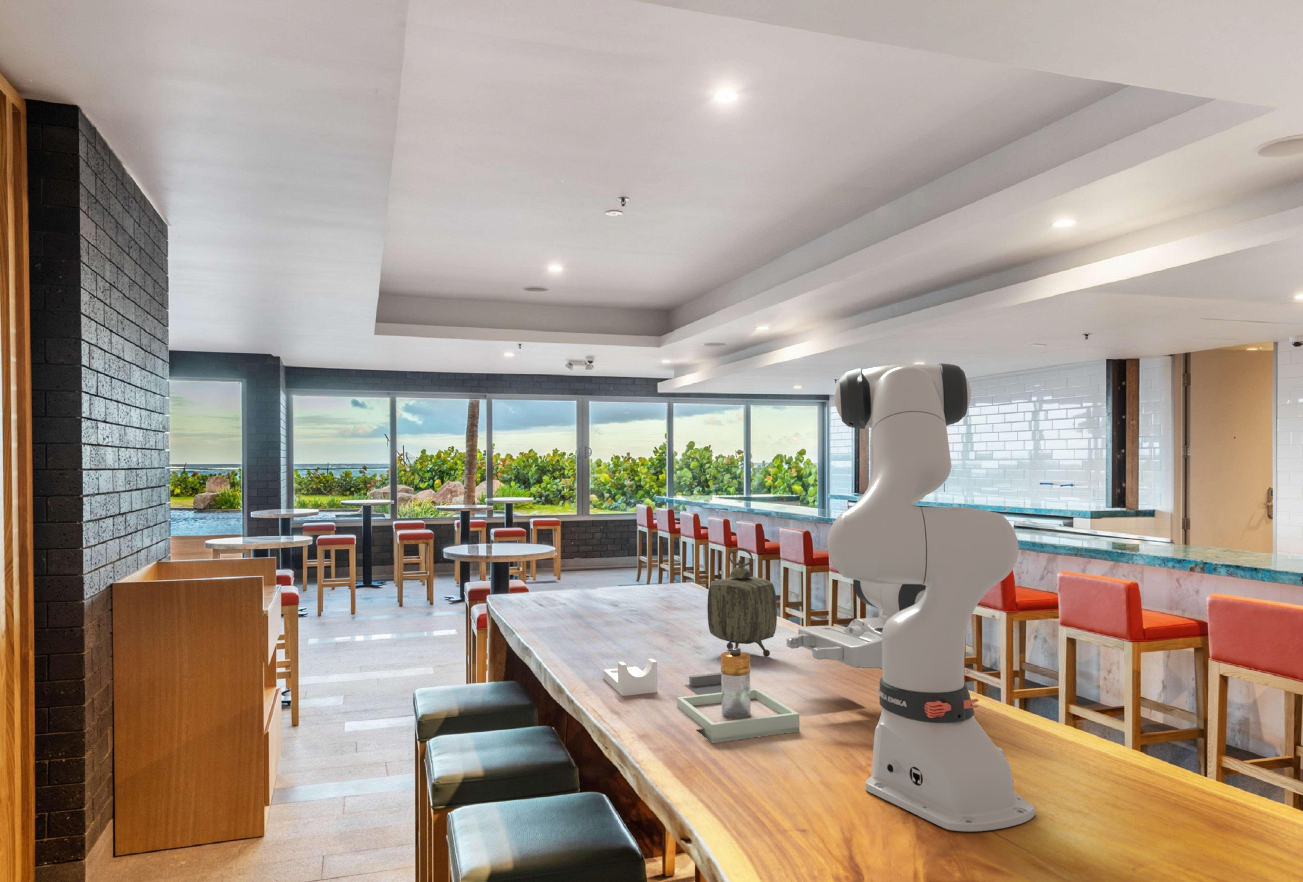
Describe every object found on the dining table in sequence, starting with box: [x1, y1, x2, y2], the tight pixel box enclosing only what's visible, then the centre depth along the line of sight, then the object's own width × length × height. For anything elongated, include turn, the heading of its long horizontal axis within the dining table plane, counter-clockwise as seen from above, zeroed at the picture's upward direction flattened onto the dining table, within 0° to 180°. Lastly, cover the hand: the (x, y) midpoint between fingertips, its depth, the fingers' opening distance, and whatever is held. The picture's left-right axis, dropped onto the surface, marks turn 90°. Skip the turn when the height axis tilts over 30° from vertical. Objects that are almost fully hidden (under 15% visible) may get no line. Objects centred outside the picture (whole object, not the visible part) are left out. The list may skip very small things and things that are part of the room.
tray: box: [676, 687, 801, 744], centre depth 142 cm, size 16×16×3 cm
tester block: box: [684, 672, 722, 695], centre depth 157 cm, size 10×10×3 cm
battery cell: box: [720, 647, 752, 720], centre depth 142 cm, size 5×5×12 cm
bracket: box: [602, 658, 658, 697], centre depth 161 cm, size 13×7×8 cm, turn 19°
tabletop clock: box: [706, 547, 778, 658], centre depth 190 cm, size 14×9×25 cm, turn 47°
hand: (800, 648), depth 147 cm, fingers open, 8 cm apart
